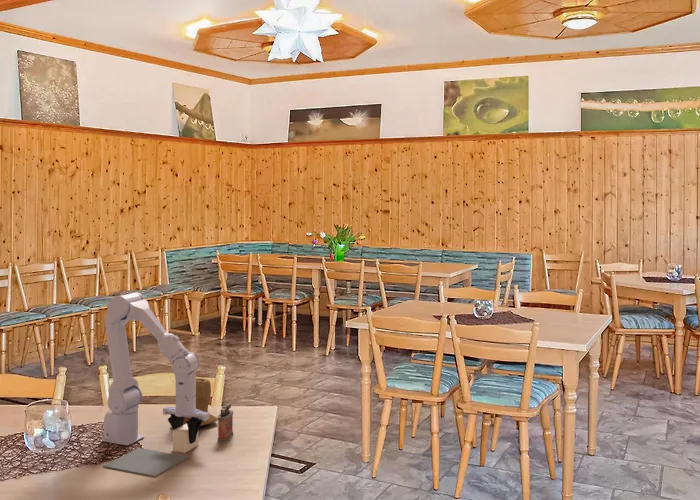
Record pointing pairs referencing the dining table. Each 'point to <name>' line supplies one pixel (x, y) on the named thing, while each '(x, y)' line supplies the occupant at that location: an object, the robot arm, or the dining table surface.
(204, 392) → the brown bookend
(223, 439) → the red patterned tin
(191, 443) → the robot arm
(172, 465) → the slate mat
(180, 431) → the cream block
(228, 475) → the dining table surface
